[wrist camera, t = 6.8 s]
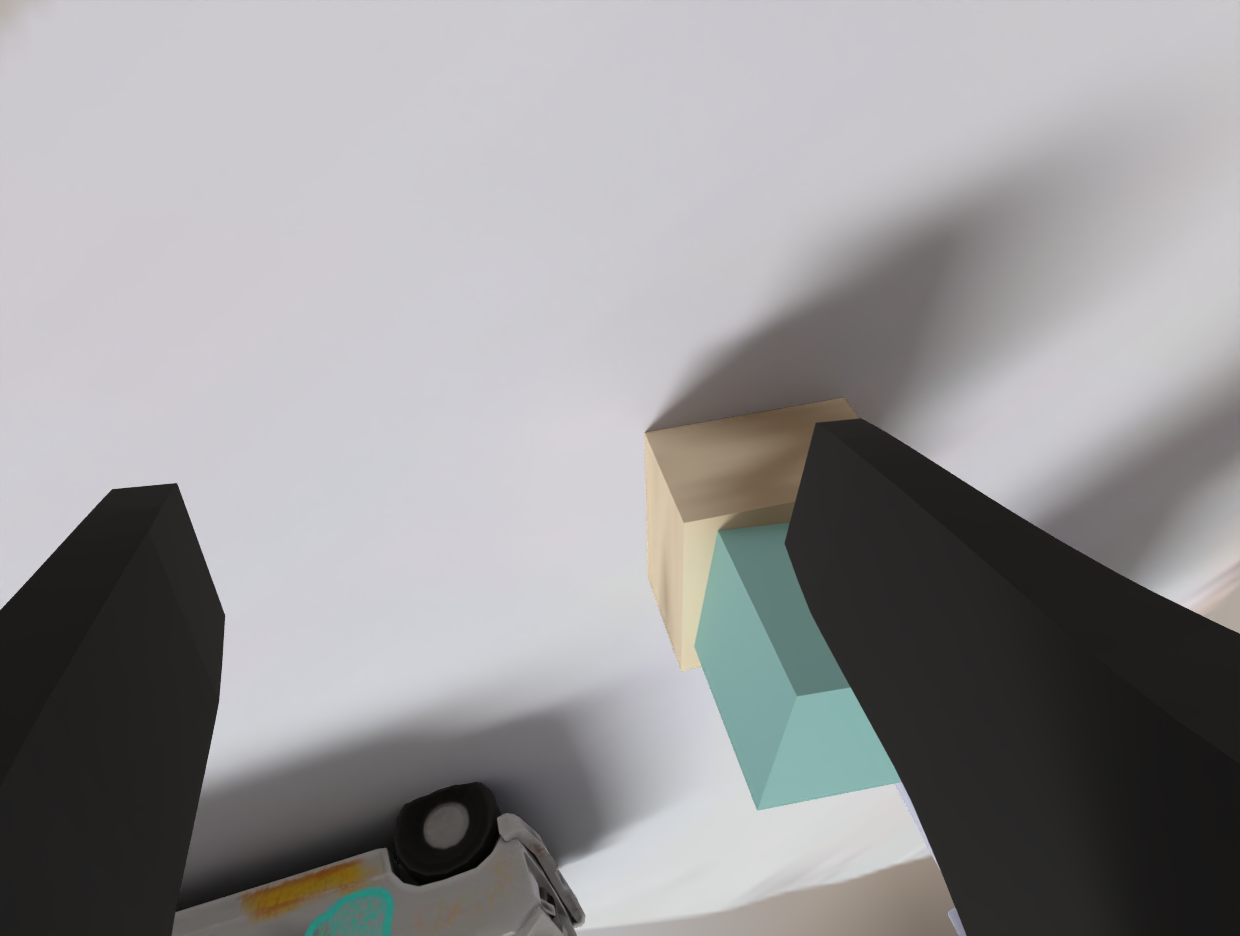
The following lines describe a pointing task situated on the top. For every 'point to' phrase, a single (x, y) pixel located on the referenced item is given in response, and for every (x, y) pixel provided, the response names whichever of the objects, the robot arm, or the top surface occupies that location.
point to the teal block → (780, 678)
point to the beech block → (718, 498)
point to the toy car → (414, 883)
